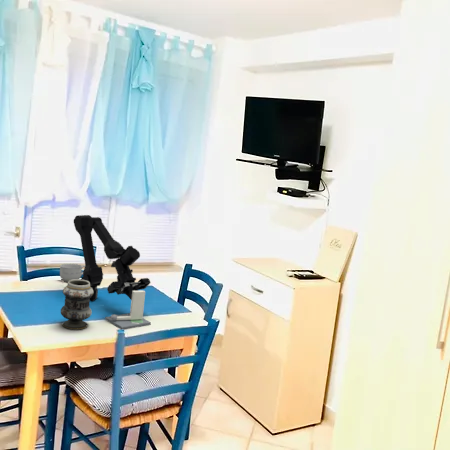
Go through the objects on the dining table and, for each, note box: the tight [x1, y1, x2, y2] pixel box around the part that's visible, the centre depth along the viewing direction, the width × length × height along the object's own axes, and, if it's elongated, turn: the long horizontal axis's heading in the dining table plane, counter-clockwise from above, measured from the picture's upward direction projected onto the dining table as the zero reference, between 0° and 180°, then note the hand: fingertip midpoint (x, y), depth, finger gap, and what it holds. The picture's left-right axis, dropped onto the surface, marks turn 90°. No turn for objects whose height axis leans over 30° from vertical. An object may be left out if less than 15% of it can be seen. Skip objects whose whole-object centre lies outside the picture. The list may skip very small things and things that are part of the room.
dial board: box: [104, 312, 151, 330], centre depth 227 cm, size 13×14×1 cm
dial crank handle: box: [110, 290, 146, 321], centre depth 226 cm, size 2×13×12 cm, turn 116°
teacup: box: [59, 263, 85, 283], centre depth 275 cm, size 14×11×8 cm
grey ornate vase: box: [60, 278, 94, 331], centre depth 215 cm, size 12×12×18 cm
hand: (135, 303), depth 229 cm, fingers closed
